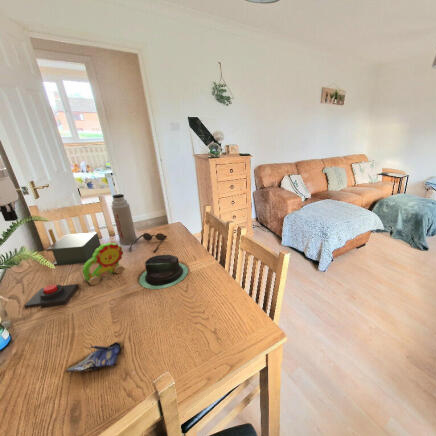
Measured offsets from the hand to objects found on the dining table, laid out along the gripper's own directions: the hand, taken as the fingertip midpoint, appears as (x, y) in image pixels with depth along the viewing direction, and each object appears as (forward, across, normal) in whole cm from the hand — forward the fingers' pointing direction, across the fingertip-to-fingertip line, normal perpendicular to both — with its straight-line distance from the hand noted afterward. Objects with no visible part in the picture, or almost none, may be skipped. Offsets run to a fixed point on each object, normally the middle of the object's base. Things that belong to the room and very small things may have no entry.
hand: (11, 220), depth 95 cm
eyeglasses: (+27, -20, +40) cm, 52 cm away
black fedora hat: (+27, +11, +53) cm, 61 cm away
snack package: (+27, +53, +42) cm, 73 cm away
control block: (+27, +18, +15) cm, 36 cm away
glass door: (+26, -20, +2) cm, 33 cm away
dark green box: (+27, -16, +10) cm, 33 cm away
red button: (+24, +18, +15) cm, 33 cm away
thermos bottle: (+27, -28, +28) cm, 48 cm away
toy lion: (+27, +6, +29) cm, 40 cm away
